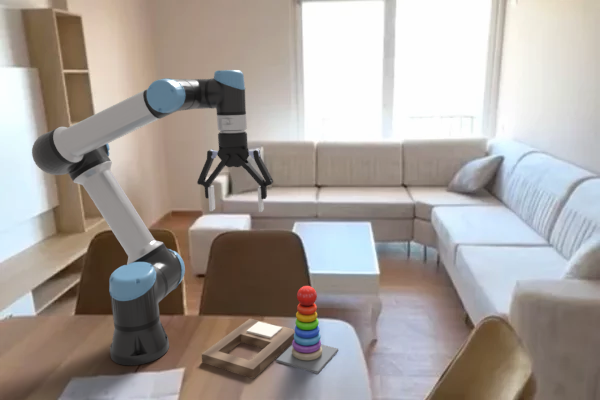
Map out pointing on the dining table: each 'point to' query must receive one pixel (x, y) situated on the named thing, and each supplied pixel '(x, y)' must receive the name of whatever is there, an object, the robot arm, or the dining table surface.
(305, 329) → the stacking toy
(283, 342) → the walnut puzzle board
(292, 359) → the gray square plate
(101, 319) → the dining table surface
